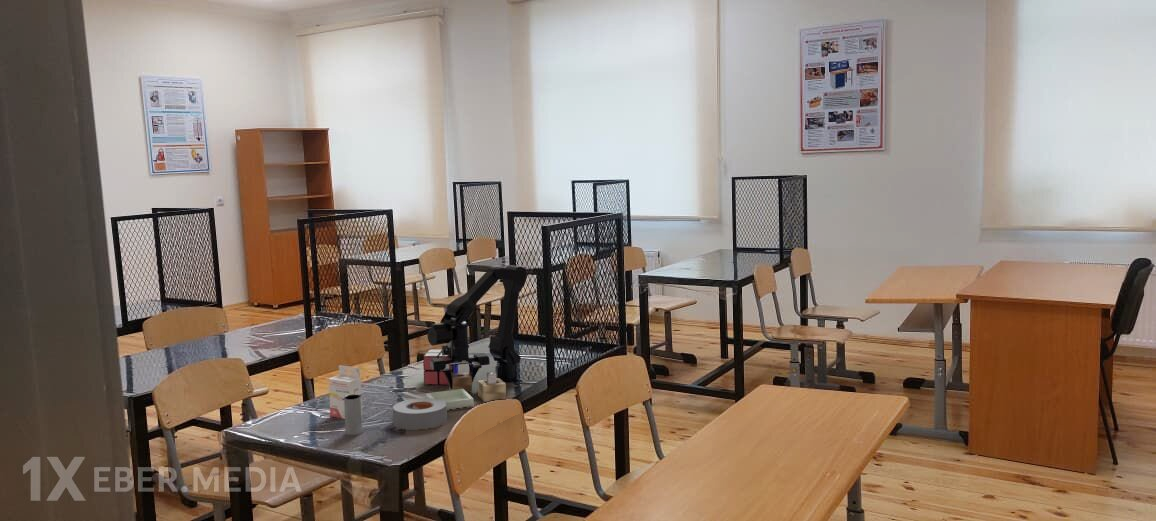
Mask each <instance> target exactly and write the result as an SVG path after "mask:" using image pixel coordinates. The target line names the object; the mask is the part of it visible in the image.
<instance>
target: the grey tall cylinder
mask: <svg viewBox="0 0 1156 521" xmlns="http://www.w3.org/2000/svg"><path fill="white" fill-rule="evenodd" d="M344 409H345V419H344V424H345V425H344V426H345V434H346V435H347V436H358V435H361V434H362V433H363V408H362V409H361V396H360V395H348V396H345V397H344Z"/></svg>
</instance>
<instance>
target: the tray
mask: <svg viewBox="0 0 1156 521" xmlns="http://www.w3.org/2000/svg"><path fill="white" fill-rule="evenodd" d="M425 398H433V399H439V400H442V401H444V402H445V403H446V409H447V411H450V410H449V409H452V410H456V409H455V408H460V409H463V408H462V407H467V406H472V407H471V408H473V407H475V406H474V405H475V404H474V402H475V399H474V398H473V397H472V396H471V394H469V392H466V391H465V390H464V389H457V390H450V389H449V390H443V391H435V392H425ZM467 408H468V407H467Z"/></svg>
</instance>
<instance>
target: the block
mask: <svg viewBox="0 0 1156 521" xmlns="http://www.w3.org/2000/svg"><path fill="white" fill-rule="evenodd" d="M448 388H449V390H457V389H464V390H465V391H466V392H467V393H471V392H470V391H472V392H473V382H472V377H471V376H470V375H469V372H466V371H465V372H458V373H456V374H452V389H451V388H450V386H449V385H448Z"/></svg>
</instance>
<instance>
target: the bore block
mask: <svg viewBox="0 0 1156 521" xmlns="http://www.w3.org/2000/svg"><path fill="white" fill-rule="evenodd" d="M496 381H497V383H496V384H488V385H487V379H481V380H477V391H478V392H477V393H478V394H477V397H479V399H481V400H482V401H483V402H491V401H490V400H494V401H497V400H496V399H502V400H506V399H507V389H506V388H507V386H506V385H507V384H506V383H507V382H503V381H502V380H501V379H499V378H496Z"/></svg>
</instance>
